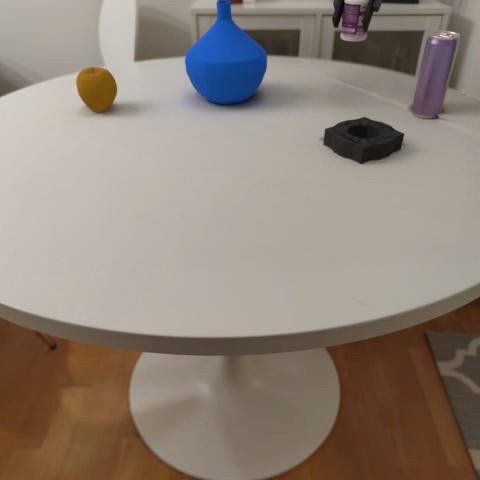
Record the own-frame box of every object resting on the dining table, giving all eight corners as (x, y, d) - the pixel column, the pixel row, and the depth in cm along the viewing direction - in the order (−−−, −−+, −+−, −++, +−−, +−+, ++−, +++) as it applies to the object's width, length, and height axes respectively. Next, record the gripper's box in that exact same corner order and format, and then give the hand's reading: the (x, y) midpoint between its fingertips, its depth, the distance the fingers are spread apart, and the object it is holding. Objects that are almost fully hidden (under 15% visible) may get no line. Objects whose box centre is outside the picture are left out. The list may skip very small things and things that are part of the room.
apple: (129, 107, 103) (121, 65, 98) (101, 119, 98) (91, 76, 92) (102, 100, 107) (93, 60, 101) (74, 112, 102) (63, 70, 96)
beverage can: (427, 121, 93) (447, 39, 83) (404, 112, 96) (421, 33, 87) (446, 114, 95) (468, 34, 85) (423, 106, 99) (441, 29, 89)
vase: (186, 113, 100) (176, 12, 87) (190, 85, 113) (182, -5, 101) (269, 109, 100) (271, 9, 87) (263, 83, 114) (264, -8, 101)
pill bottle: (361, 43, 91) (368, -14, 85) (336, 40, 93) (341, -16, 87) (370, 37, 94) (378, -19, 88) (346, 34, 97) (352, -20, 90)
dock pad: (406, 149, 83) (410, 133, 81) (360, 166, 79) (363, 150, 77) (362, 129, 90) (364, 114, 88) (317, 143, 86) (319, 128, 84)
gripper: (435, -72, 89) (397, 40, 89) (345, -72, 96) (310, 32, 96) (437, -108, 82) (395, 15, 82) (339, -104, 89) (301, 8, 89)
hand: (349, 24), depth 89 cm, fingers closed on pill bottle, 5 cm apart
